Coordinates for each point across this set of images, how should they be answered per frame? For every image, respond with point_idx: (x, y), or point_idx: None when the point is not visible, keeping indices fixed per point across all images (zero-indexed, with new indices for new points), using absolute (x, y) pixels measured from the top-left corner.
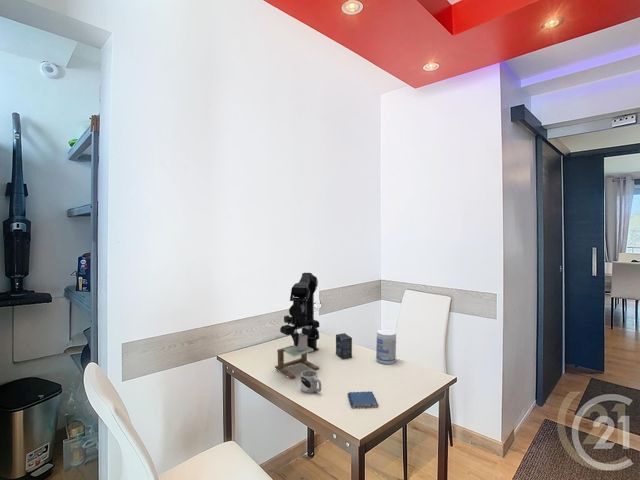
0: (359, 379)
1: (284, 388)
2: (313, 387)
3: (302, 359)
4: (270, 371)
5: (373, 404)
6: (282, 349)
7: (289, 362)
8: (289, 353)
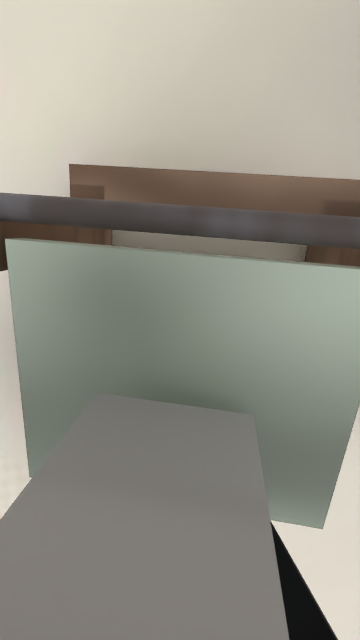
0: (351, 617)
1: (4, 421)
2: None
3: (318, 249)
4: (31, 185)
5: None
6: None
7: (208, 188)
8: (29, 389)
